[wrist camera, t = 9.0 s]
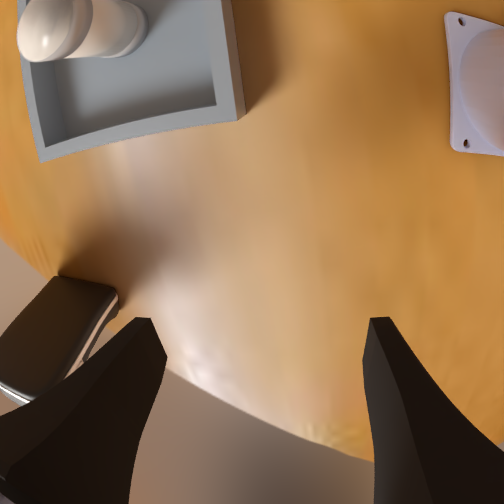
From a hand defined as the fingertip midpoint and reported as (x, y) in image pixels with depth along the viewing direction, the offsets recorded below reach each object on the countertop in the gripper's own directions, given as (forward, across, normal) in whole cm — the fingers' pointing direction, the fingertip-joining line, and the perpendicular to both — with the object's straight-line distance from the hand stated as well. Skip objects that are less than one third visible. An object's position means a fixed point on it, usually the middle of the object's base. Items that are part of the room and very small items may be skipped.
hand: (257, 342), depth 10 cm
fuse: (+9, +7, -12) cm, 17 cm away
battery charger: (+10, +16, +6) cm, 20 cm away
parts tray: (+9, +7, -12) cm, 17 cm away
